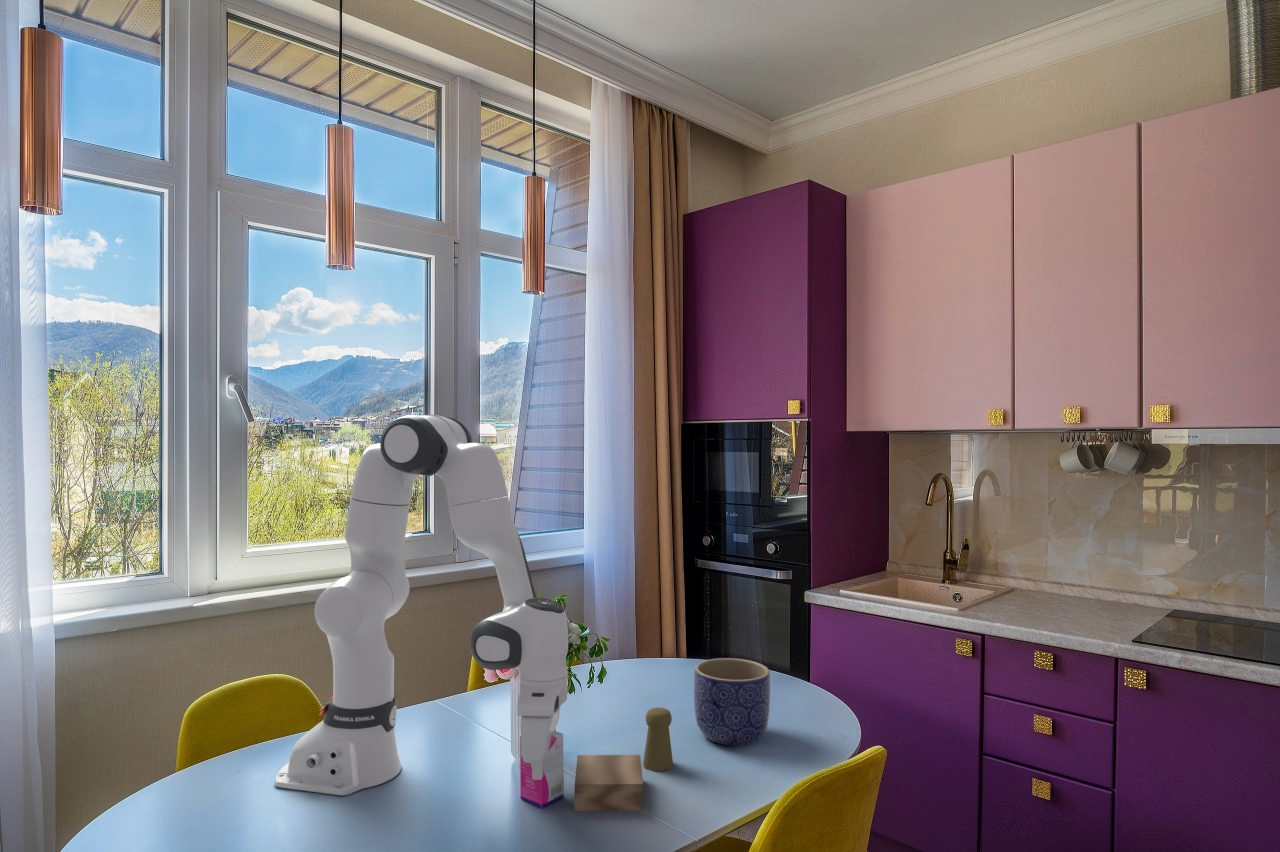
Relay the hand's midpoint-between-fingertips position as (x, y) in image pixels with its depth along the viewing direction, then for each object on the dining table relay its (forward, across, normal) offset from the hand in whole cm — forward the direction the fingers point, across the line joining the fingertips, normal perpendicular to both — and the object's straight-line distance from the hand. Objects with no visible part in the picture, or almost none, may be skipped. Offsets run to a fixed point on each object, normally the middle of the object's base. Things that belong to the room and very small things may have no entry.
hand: (542, 766), depth 137 cm
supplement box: (+6, 0, 0) cm, 6 cm away
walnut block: (+6, -2, +12) cm, 14 cm away
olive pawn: (+6, -15, +21) cm, 26 cm away
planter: (+6, -30, +37) cm, 48 cm away
